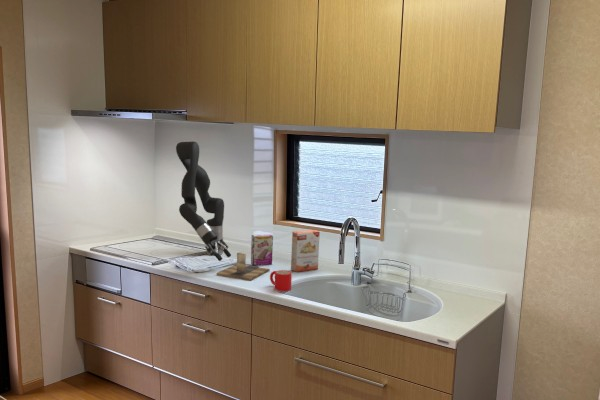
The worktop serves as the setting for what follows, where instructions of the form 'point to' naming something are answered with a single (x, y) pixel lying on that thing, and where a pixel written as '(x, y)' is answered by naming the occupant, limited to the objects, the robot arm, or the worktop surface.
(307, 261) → the cracker box
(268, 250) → the candy bar box
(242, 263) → the tan tall block
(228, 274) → the oak board
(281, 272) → the mug
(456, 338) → the worktop surface
